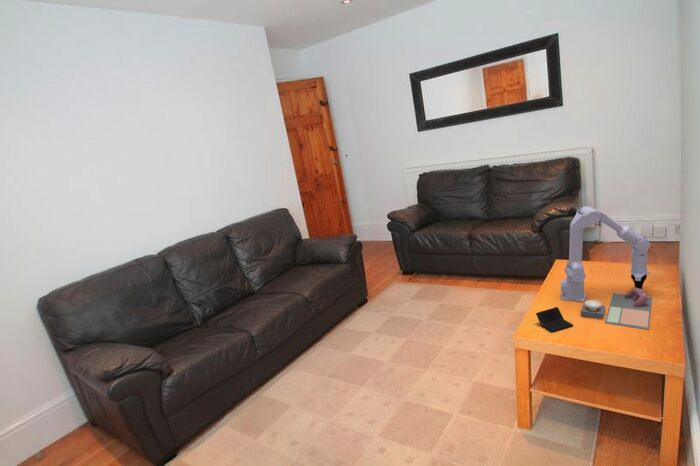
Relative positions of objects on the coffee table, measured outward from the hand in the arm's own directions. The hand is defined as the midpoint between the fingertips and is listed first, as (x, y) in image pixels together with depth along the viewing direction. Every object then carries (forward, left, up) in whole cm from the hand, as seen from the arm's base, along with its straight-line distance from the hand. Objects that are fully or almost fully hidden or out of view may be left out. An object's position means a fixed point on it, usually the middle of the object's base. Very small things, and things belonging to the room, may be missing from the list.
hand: (638, 289), depth 176 cm
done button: (-15, -26, 0) cm, 30 cm away
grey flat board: (-2, -18, -2) cm, 19 cm away
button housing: (-14, -26, -2) cm, 30 cm away
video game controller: (0, -10, -2) cm, 10 cm away
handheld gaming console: (-26, -41, -2) cm, 49 cm away
